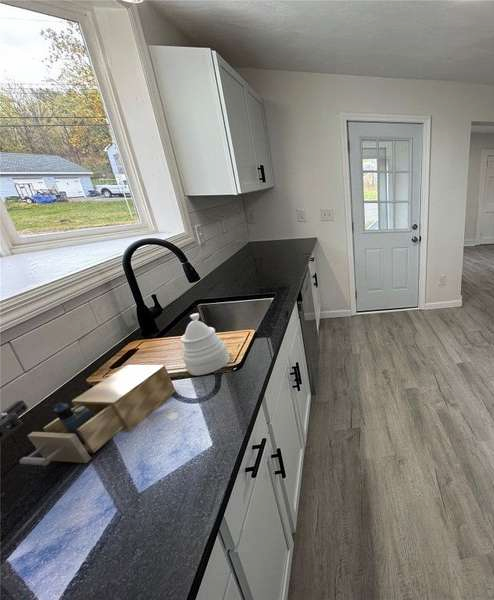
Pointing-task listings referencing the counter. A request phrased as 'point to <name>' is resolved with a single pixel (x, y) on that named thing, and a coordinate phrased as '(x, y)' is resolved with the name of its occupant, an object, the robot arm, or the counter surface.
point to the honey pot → (203, 348)
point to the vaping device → (73, 418)
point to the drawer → (74, 437)
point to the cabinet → (131, 392)
